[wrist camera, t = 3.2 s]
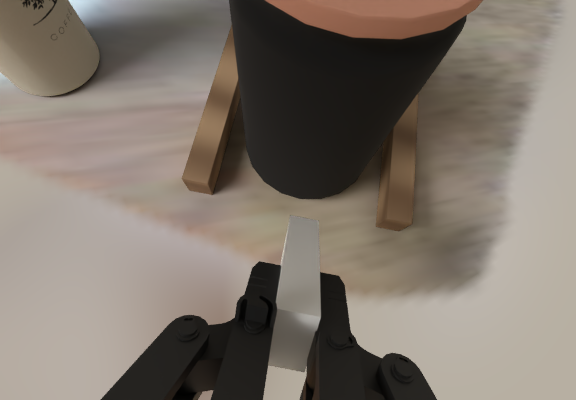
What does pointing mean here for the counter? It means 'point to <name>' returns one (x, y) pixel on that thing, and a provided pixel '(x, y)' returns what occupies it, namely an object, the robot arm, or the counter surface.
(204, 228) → the counter surface
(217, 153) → the bay
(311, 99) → the coffee jar
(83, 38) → the travel mug
